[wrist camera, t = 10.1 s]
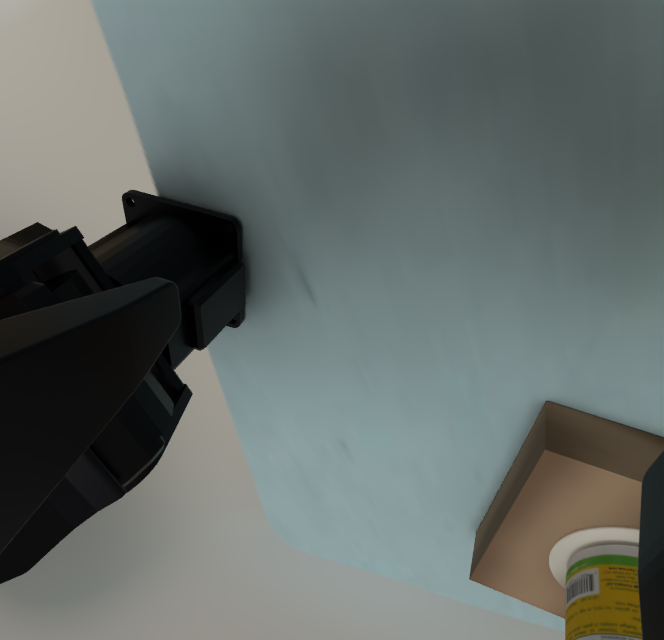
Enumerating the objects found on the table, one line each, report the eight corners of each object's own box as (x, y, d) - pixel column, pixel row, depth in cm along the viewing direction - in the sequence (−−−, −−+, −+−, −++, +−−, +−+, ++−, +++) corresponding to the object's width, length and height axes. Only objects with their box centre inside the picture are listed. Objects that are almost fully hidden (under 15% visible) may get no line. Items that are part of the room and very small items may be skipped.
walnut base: (476, 532, 30) (468, 582, 28) (546, 400, 23) (544, 453, 20) (689, 615, 27) (702, 679, 25) (849, 496, 20) (889, 570, 17)
